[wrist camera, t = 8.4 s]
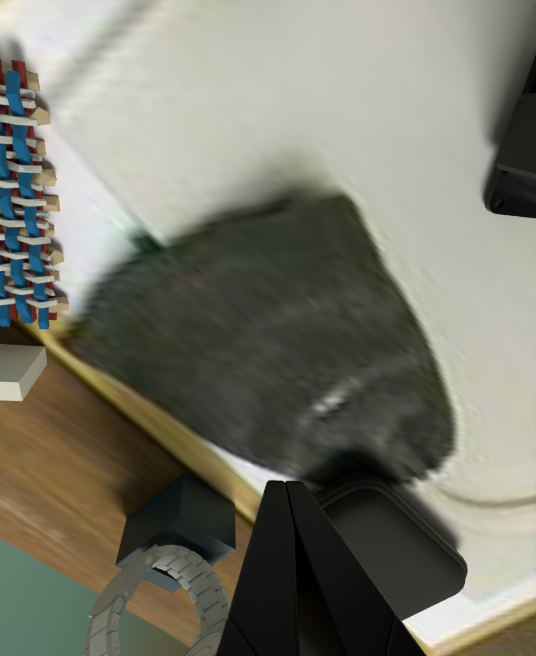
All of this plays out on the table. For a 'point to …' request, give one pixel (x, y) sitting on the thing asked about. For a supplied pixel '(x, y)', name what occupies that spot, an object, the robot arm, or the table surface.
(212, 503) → the watch
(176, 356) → the table surface
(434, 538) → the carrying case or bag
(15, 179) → the woven mat
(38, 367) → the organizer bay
